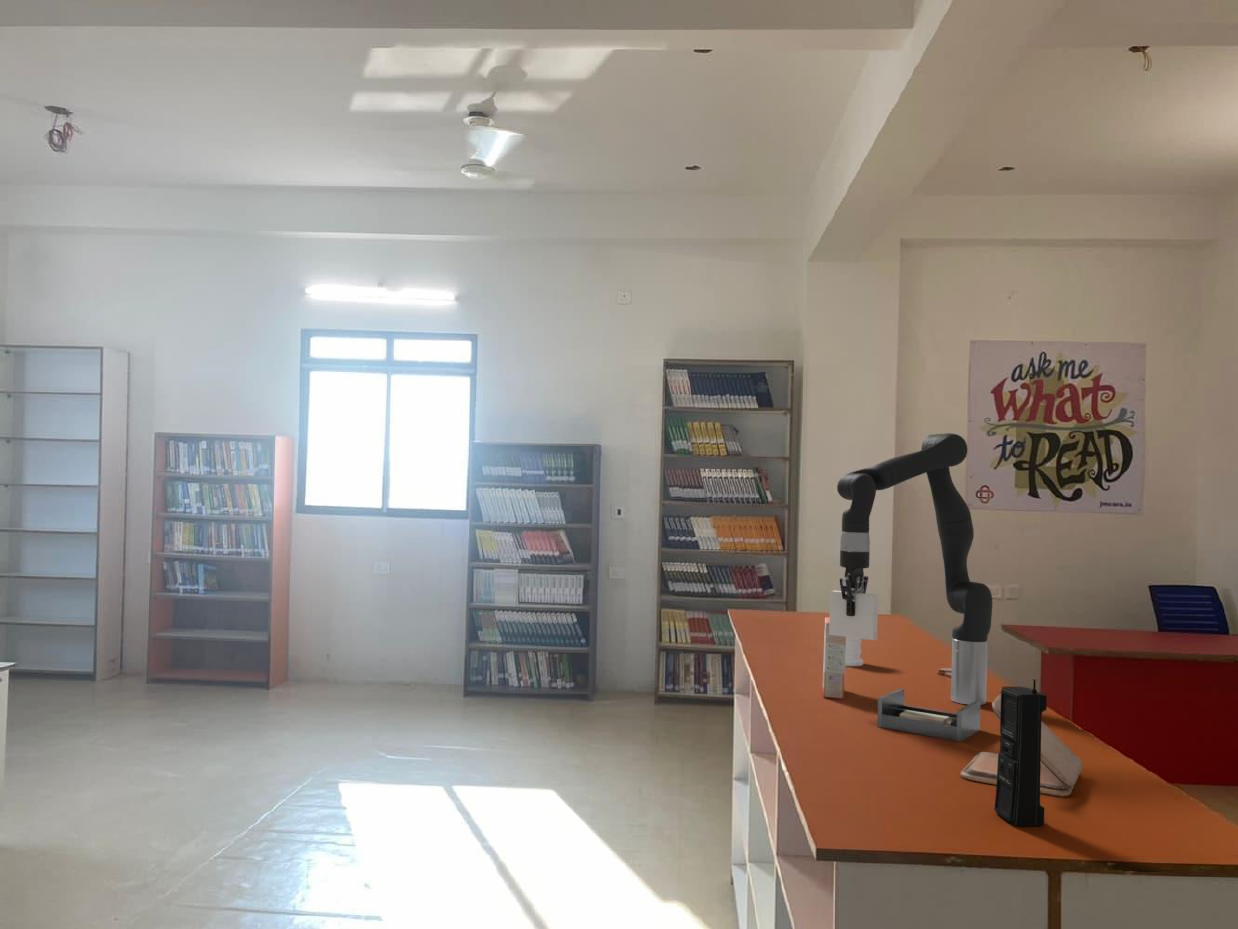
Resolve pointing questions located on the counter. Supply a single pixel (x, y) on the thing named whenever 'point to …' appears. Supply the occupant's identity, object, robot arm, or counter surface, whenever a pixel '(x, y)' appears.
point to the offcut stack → (926, 717)
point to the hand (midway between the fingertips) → (853, 615)
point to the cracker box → (833, 664)
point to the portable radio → (1020, 756)
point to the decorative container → (853, 652)
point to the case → (1055, 763)
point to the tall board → (856, 625)
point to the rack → (959, 730)
